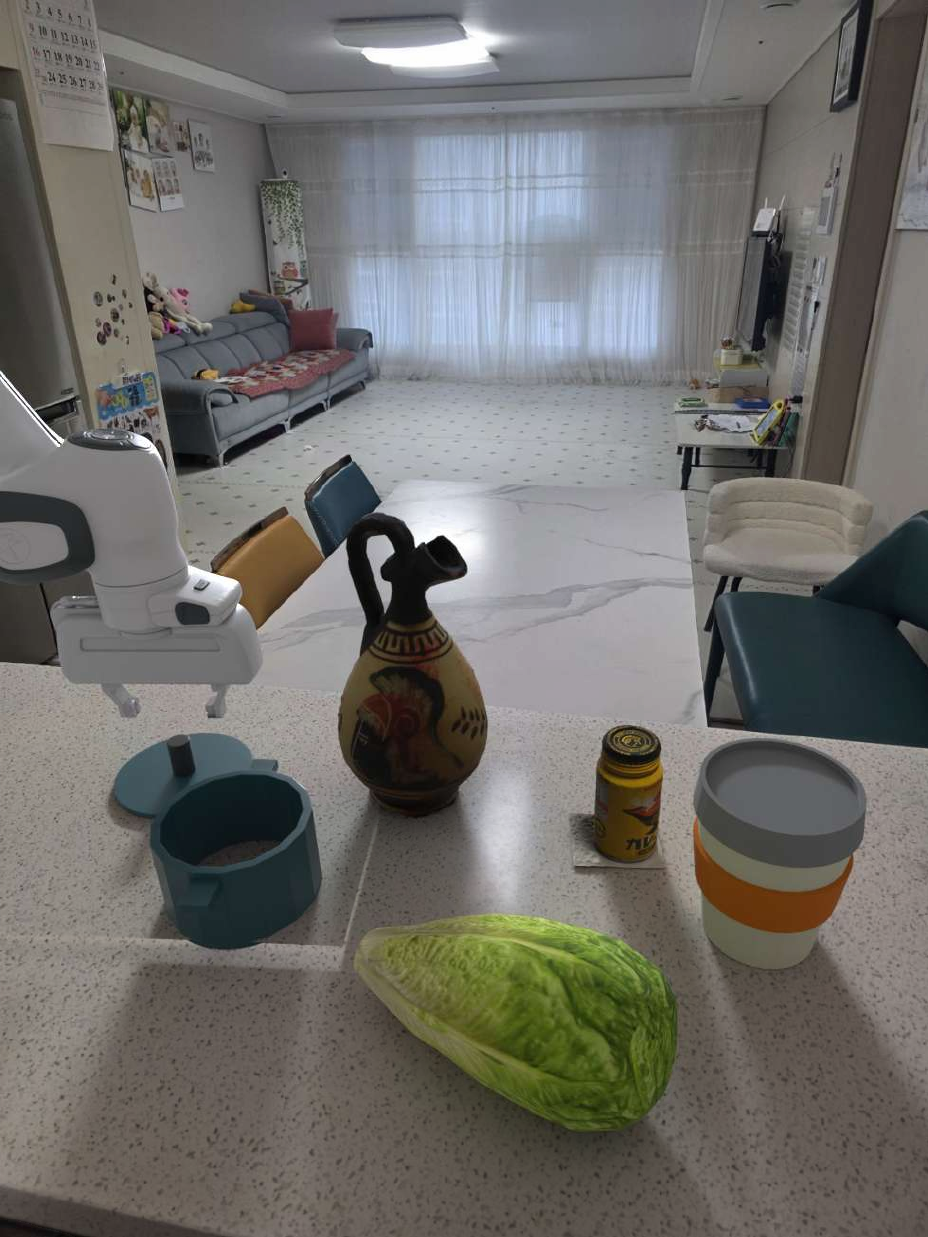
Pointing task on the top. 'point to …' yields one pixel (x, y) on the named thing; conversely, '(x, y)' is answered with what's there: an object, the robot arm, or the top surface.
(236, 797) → the pot
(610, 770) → the condiment
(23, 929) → the top surface
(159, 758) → the pot lid
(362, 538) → the ceramic jug
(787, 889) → the reusable coffee cup
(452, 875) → the top surface
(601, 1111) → the lettuce
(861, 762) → the top surface
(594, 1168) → the top surface
